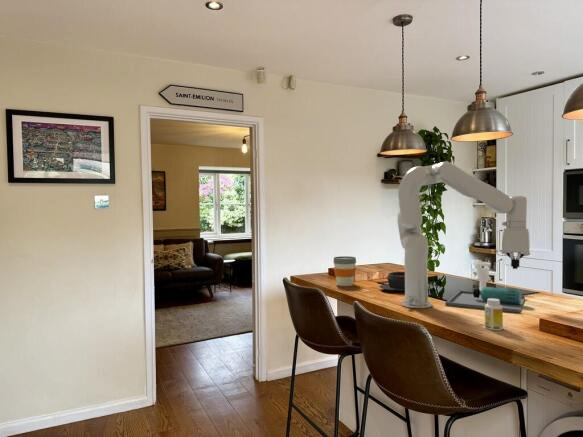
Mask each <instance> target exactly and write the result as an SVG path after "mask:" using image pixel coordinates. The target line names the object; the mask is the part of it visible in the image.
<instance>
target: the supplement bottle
mask: <svg viewBox="0 0 583 437" xmlns="http://www.w3.org/2000/svg"><path fill="white" fill-rule="evenodd" d="M503 313H504V312H502V306H501V305H500V300H499V299H494V298H489V299H487V304H486V305H485V310H484V327H485V329H487V330H490V331H501V330H503V328H504V327H503V326H504V325H503Z"/></svg>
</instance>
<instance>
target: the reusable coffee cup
mask: <svg viewBox="0 0 583 437" xmlns="http://www.w3.org/2000/svg"><path fill="white" fill-rule="evenodd" d="M356 263H357V259H356V257H355V256H349V255H347V256H346V255H345V256H344V255H343V256H341V255H340V256H334V257H333V266H334V268H333V270H334V276H335V280H336V285H337V286H340V287H351V286H353V285H354V281H355V276H356V269H357V268H356Z"/></svg>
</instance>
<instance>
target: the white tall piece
mask: <svg viewBox="0 0 583 437" xmlns="http://www.w3.org/2000/svg"><path fill="white" fill-rule="evenodd" d="M474 267H475V268H476V276H475V277H474V280H475V281H479V282H478V283H479V289H480V292H481V290H482V288H484V287H487V282H488V281H491V278H492V277H490V269H489V268H490V267H491V262H489V261H482V260H481V259H480V260H479V259H476V260H475V262H474ZM482 267H483V268H482Z"/></svg>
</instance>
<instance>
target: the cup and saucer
mask: <svg viewBox="0 0 583 437" xmlns="http://www.w3.org/2000/svg"><path fill="white" fill-rule="evenodd" d="M386 279H387V281H388V283H387V284H379V286H378V287H379V288H381V289H383V290H386V291H394V292H398V293H405V271H392V272H389V273H388V275H387V276H386Z"/></svg>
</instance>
